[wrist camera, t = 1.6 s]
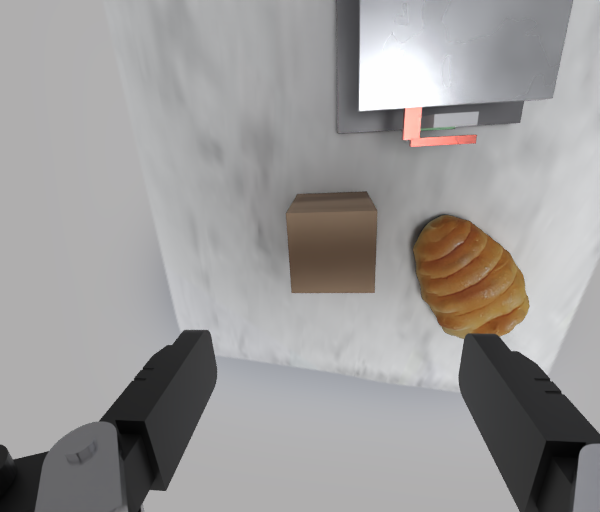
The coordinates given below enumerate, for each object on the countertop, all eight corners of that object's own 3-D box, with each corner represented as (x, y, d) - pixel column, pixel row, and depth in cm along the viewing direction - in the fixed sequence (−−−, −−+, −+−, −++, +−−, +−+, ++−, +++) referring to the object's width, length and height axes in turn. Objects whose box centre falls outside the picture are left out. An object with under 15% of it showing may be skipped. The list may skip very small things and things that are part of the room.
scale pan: (358, -103, 14) (362, -136, 13) (573, -133, 13) (609, -174, 12) (356, 147, 18) (358, 149, 16) (522, 139, 17) (543, 139, 15)
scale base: (335, -81, 17) (336, -183, 12) (551, -110, 16) (667, -238, 10) (337, 135, 21) (339, 135, 16) (511, 125, 20) (579, 122, 14)
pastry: (386, 243, 24) (396, 261, 20) (471, 191, 22) (498, 202, 18) (444, 331, 26) (462, 361, 23) (525, 291, 24) (559, 318, 21)
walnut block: (297, 194, 23) (285, 213, 18) (366, 191, 23) (377, 210, 17) (301, 257, 25) (291, 293, 19) (364, 256, 24) (374, 292, 19)
